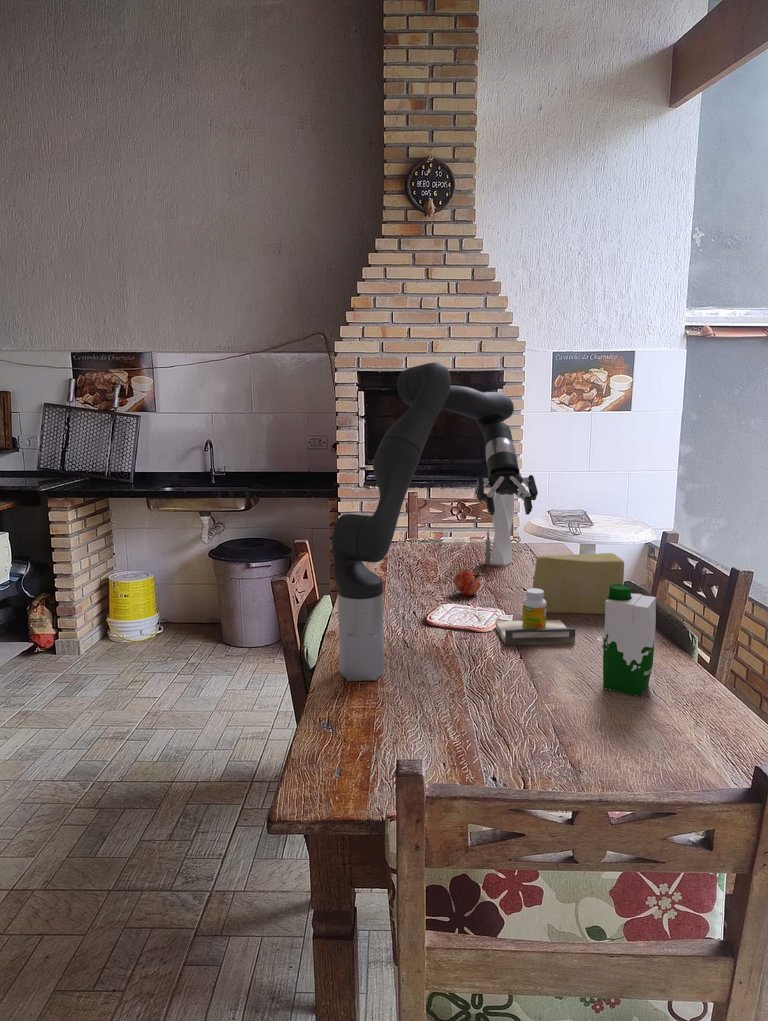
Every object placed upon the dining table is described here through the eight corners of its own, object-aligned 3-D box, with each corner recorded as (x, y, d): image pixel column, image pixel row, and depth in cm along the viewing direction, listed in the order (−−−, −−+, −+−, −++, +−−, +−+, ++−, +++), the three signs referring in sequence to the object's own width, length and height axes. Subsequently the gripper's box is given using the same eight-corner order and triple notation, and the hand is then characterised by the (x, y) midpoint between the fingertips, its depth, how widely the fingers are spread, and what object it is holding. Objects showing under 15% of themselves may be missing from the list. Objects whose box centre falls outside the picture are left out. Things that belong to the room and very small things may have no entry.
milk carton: (608, 673, 142) (613, 579, 139) (655, 683, 137) (661, 586, 134) (597, 689, 135) (601, 590, 131) (645, 700, 130) (651, 598, 127)
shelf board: (575, 644, 158) (575, 629, 158) (506, 645, 158) (506, 631, 157) (559, 625, 170) (560, 612, 170) (495, 627, 170) (495, 613, 169)
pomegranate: (452, 604, 195) (477, 588, 189) (440, 581, 197) (465, 565, 191) (466, 601, 200) (491, 585, 195) (455, 579, 202) (479, 562, 197)
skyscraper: (495, 559, 236) (497, 478, 231) (517, 563, 231) (519, 480, 226) (483, 564, 229) (485, 481, 224) (506, 568, 225) (508, 483, 220)
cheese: (536, 617, 177) (538, 560, 174) (528, 605, 186) (530, 551, 184) (623, 616, 177) (626, 559, 174) (610, 604, 186) (613, 550, 184)
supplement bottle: (520, 632, 162) (521, 592, 160) (524, 625, 167) (525, 586, 165) (543, 635, 160) (545, 595, 158) (547, 627, 165) (548, 588, 163)
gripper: (475, 450, 170) (483, 504, 161) (532, 449, 171) (543, 503, 162) (471, 469, 176) (478, 522, 167) (526, 468, 177) (537, 521, 168)
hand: (510, 513), depth 164 cm, fingers open, 8 cm apart
